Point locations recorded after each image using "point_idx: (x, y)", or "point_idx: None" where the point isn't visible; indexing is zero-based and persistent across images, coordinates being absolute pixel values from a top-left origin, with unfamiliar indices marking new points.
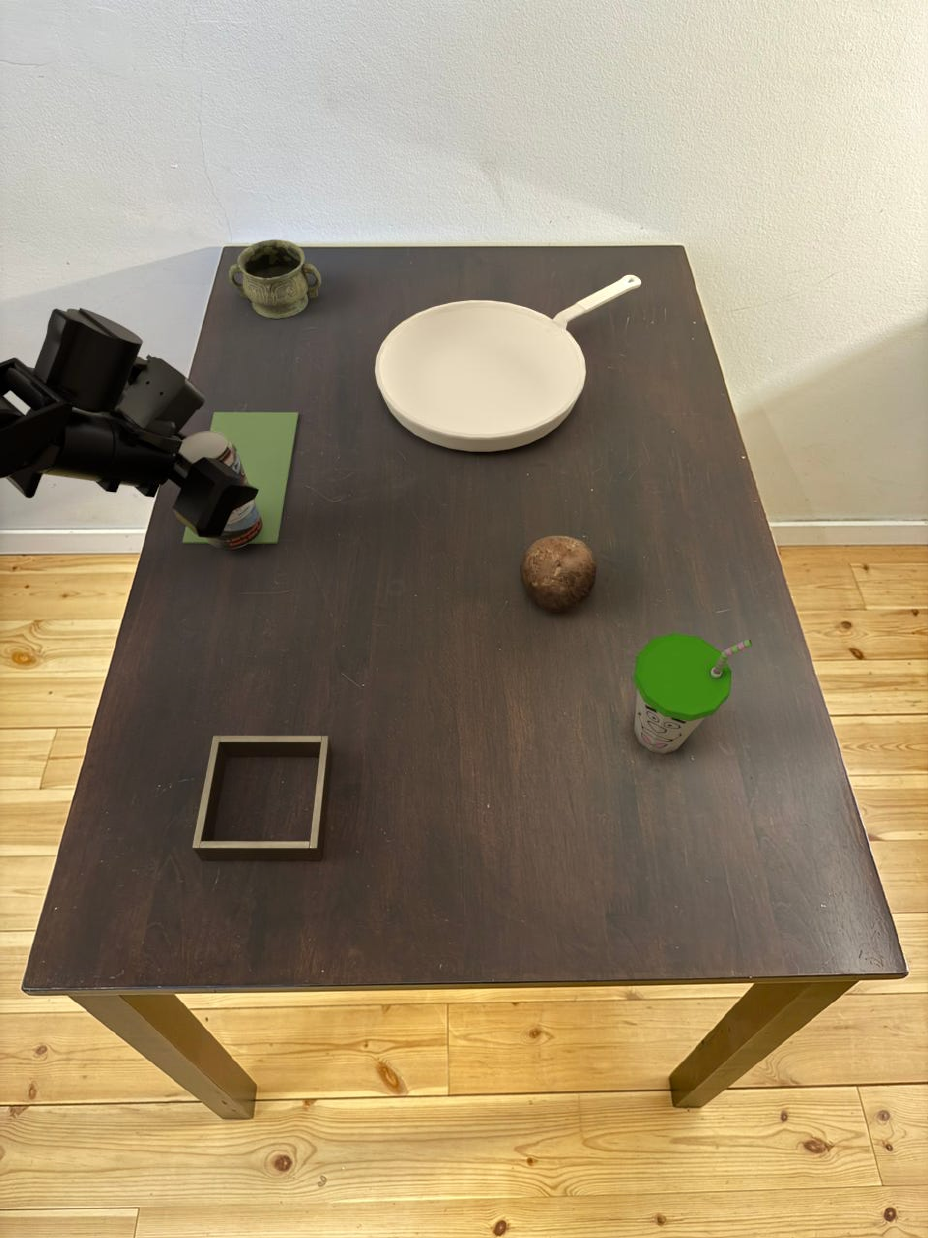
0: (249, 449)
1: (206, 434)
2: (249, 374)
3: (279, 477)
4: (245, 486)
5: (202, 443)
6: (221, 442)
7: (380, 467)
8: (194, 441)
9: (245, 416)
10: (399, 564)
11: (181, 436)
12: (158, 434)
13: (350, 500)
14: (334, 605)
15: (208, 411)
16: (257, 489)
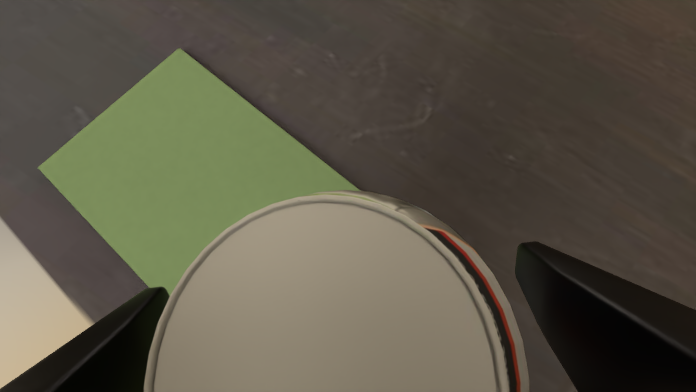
0: (185, 168)
1: (222, 272)
2: (19, 63)
3: (299, 164)
4: (686, 307)
5: (285, 345)
6: (371, 240)
7: (403, 16)
8: (219, 373)
9: (103, 126)
10: (646, 113)
11: (85, 370)
12: None
13: (442, 95)
14: (691, 271)
15: (25, 176)
16: (544, 245)
